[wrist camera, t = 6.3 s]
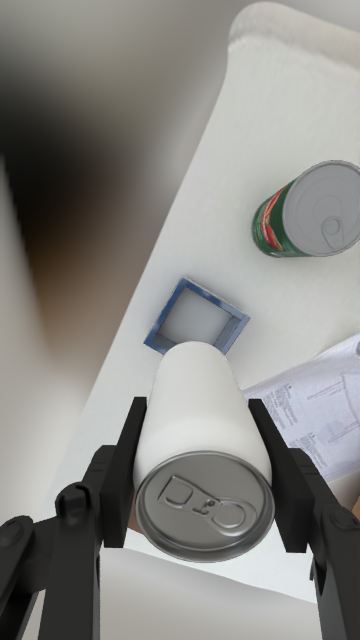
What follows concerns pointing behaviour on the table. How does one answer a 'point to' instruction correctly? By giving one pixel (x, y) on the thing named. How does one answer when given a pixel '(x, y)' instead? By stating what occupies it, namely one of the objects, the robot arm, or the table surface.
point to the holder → (239, 316)
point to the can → (201, 461)
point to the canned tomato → (311, 213)
